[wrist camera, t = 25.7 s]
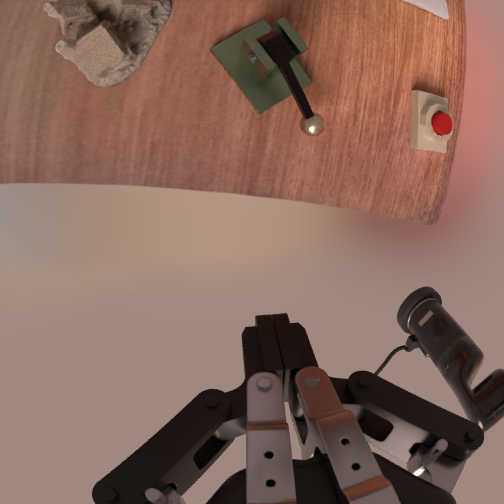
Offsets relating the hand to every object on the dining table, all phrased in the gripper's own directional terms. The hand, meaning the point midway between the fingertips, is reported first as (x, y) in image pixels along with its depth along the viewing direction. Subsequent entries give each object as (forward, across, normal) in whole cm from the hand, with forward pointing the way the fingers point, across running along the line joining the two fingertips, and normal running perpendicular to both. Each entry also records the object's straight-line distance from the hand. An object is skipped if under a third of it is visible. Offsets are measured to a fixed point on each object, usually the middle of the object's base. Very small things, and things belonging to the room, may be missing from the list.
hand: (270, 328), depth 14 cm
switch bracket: (+31, +4, +18) cm, 36 cm away
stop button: (+27, +32, +12) cm, 44 cm away
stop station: (+31, +32, +12) cm, 46 cm away
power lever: (+24, +6, +14) cm, 29 cm away
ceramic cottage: (+31, -16, +26) cm, 44 cm away
